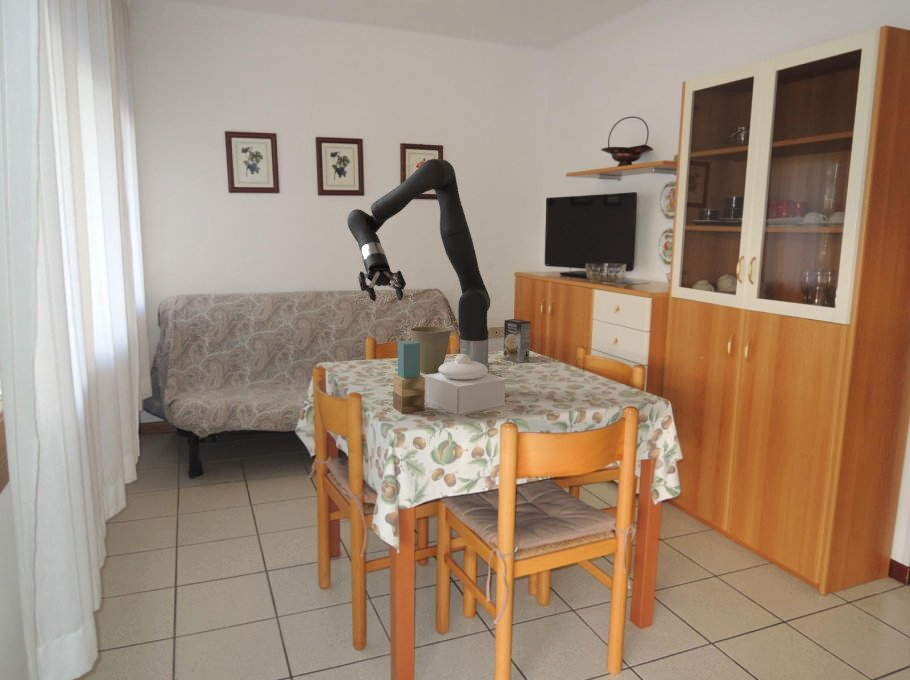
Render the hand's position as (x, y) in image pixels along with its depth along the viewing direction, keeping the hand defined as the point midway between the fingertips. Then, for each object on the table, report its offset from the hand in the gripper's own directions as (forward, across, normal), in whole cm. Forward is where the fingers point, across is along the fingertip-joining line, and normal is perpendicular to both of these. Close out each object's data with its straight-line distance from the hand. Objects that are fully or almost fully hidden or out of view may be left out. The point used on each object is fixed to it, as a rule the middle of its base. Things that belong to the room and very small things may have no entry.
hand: (387, 299), depth 207 cm
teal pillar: (+27, 0, +2) cm, 27 cm away
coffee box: (0, +66, +43) cm, 79 cm away
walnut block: (+34, -1, +9) cm, 35 cm away
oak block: (+31, 0, +6) cm, 31 cm away
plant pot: (+4, +26, +40) cm, 47 cm away
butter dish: (+36, +17, +8) cm, 40 cm away
